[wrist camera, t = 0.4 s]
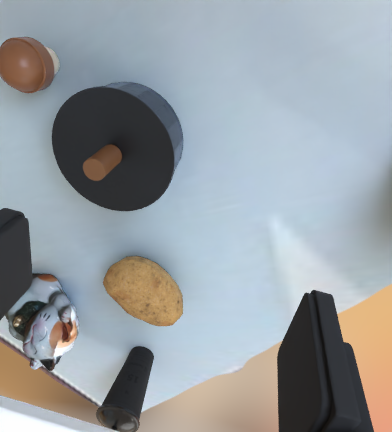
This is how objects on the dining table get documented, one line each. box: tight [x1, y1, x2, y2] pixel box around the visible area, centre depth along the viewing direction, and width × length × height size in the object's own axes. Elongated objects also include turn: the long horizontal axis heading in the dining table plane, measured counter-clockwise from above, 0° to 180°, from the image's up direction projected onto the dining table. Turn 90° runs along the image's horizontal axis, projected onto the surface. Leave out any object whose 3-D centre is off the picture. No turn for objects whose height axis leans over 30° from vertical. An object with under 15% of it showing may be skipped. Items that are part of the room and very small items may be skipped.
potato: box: [103, 256, 183, 326], centre depth 56 cm, size 10×14×8 cm
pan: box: [105, 82, 183, 171], centre depth 45 cm, size 15×15×6 cm
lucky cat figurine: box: [5, 274, 79, 371], centre depth 62 cm, size 15×12×14 cm
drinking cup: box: [96, 347, 154, 432], centre depth 62 cm, size 8×8×20 cm
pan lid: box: [52, 86, 175, 211], centre depth 41 cm, size 16×16×6 cm
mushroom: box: [0, 37, 60, 93], centre depth 42 cm, size 6×6×8 cm
